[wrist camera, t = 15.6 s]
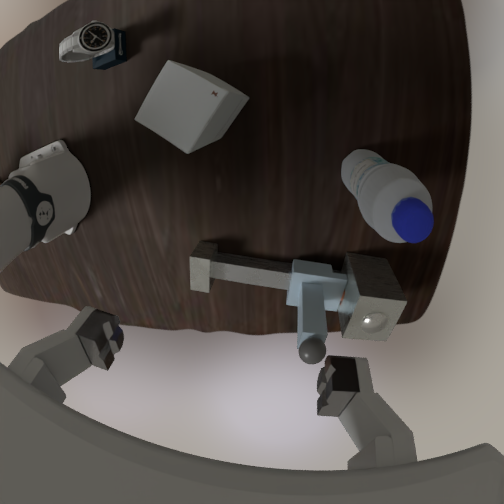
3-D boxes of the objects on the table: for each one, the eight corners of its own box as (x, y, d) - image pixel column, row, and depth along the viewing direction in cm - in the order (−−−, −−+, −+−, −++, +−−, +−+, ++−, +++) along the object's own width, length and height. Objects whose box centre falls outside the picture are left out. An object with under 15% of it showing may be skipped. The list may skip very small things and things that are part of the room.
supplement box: (206, 70, 31) (168, 56, 20) (251, 98, 32) (231, 91, 21) (178, 114, 34) (131, 119, 23) (220, 140, 36) (188, 156, 25)
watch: (137, 57, 30) (92, 49, 21) (96, 73, 31) (49, 73, 22) (136, 27, 27) (92, 12, 18) (95, 44, 29) (49, 38, 19)
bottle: (349, 137, 33) (406, 167, 16) (390, 159, 33) (467, 210, 16) (329, 179, 36) (362, 248, 19) (369, 199, 37) (424, 278, 19)
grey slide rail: (199, 272, 47) (177, 316, 37) (200, 229, 43) (173, 268, 33) (370, 297, 45) (385, 345, 35) (386, 258, 41) (408, 303, 31)
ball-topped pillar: (287, 289, 45) (281, 373, 30) (293, 257, 42) (291, 340, 27) (334, 295, 44) (345, 379, 30) (343, 265, 42) (363, 347, 27)
